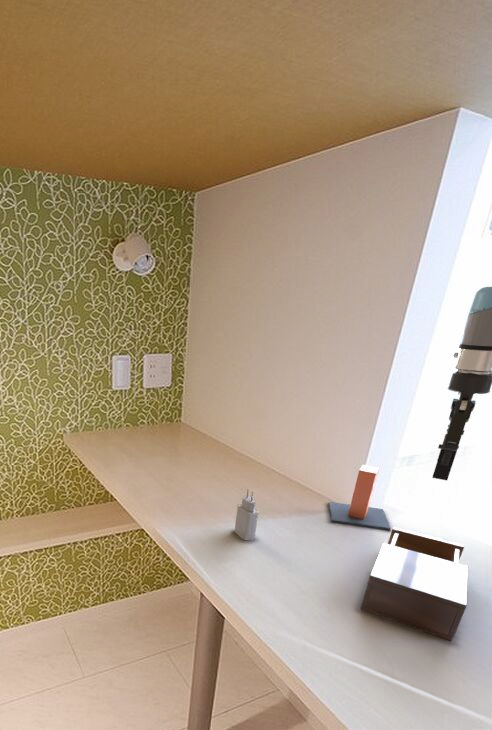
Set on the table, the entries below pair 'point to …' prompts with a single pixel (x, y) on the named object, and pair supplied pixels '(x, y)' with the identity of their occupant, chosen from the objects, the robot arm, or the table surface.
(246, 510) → the power adapter
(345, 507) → the felt mat
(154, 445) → the table surface
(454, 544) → the drawer
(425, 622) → the cabinet
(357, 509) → the reddish brown rectangular block
